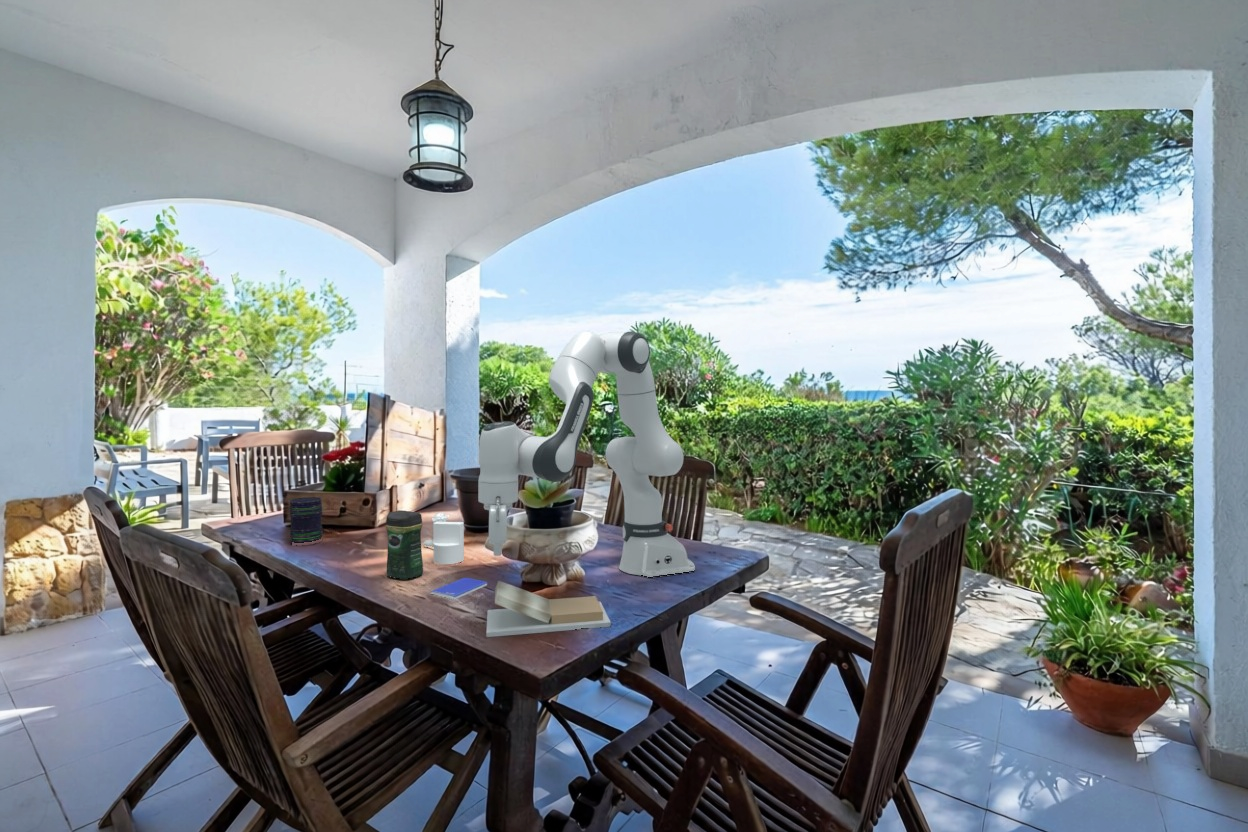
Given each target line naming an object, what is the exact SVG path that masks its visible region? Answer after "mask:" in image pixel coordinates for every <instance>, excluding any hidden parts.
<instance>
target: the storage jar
mask: <svg viewBox="0 0 1248 832" xmlns="http://www.w3.org/2000/svg"><path fill="white" fill-rule="evenodd" d="M289 504H290V505H289V518H290V530H289V538H290V543H291V542H294V543H304V542H312V541H316V540H319V539H321V538H322V539H323V525H322V514H323V505H322V504H323V503H322V497H316V496H315V497H313V496H312V497H311V496H308V497H299V498H293V499H290V500H289Z"/></svg>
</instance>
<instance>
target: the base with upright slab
mask: <svg viewBox="0 0 1248 832" xmlns="http://www.w3.org/2000/svg"><path fill="white" fill-rule="evenodd" d="M432 524H433V533H432V536H433V539H434V544H433V546H434V549H433V563H434V562H436V563H439V564H454V563H458V562H461V561H463V560H464V559H465V541H464V540H465V538H464V537H465V536H464V535H465V534H464V533H465V531H464V530H465V529H464V525H465V524H464V522H462V521H447V522H435V523H432ZM464 561H465V560H464ZM464 561H463V562H464Z"/></svg>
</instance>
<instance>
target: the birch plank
mask: <svg viewBox="0 0 1248 832" xmlns="http://www.w3.org/2000/svg"><path fill="white" fill-rule="evenodd" d="M548 600H549V598H547V597H544V596H541V595H538V594H535V593H533V592H531V591H528V590H525V589H523V588H520V587H517V586H515V585H513V584H509V583H506V582H504V581H501V580H498V581H497V584H496V586H495V588H494V605H497V606H500V607H501V608H504V609H510V610H513V611H516V612H518V613H521V614H524V615H527V616H529V617H532V618H535V619H538V620H540V621H543V622H546V623H548V622H549V620H550V618H551V616H552V613H551V609H550V605H549V601H548Z"/></svg>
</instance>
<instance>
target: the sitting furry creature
mask: <svg viewBox="0 0 1248 832" xmlns="http://www.w3.org/2000/svg"><path fill="white" fill-rule="evenodd" d="M449 519H450V515H449V514H448V515H447V514H445V513H444V512H437V513H435V515H433V517H432V518H431V520H432V522H431V523H432V524H433V523H435V522H448V521H447V520H449ZM423 544H424V545H426V546H432V547H434V546H433V544H434V538H433V539H427V540H425V541H424V542H423V543H422V545H423ZM424 545H423V546H424Z"/></svg>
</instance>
